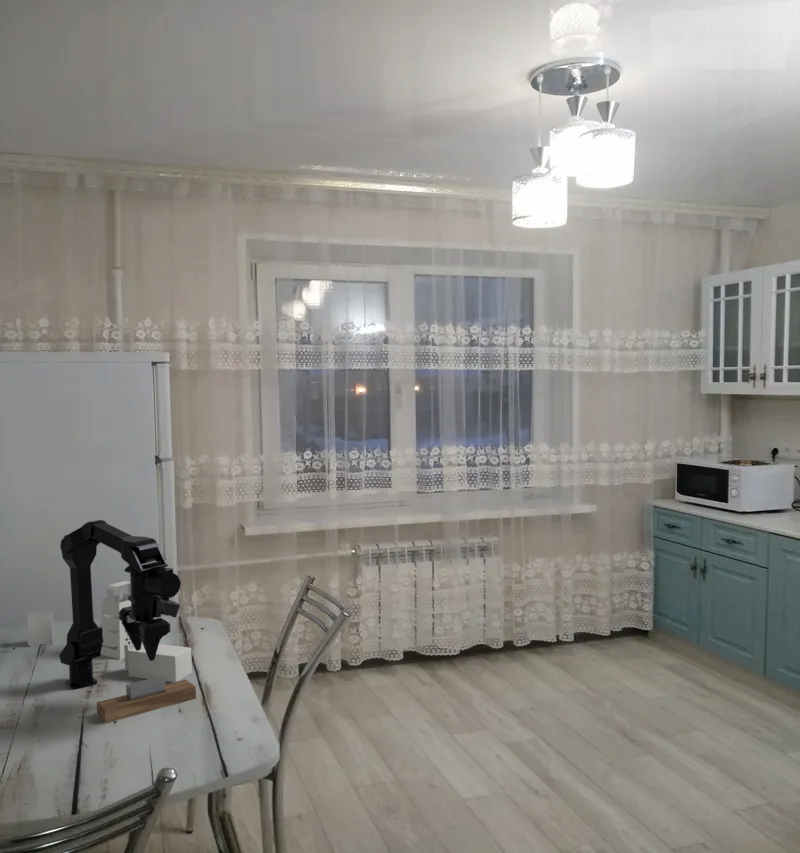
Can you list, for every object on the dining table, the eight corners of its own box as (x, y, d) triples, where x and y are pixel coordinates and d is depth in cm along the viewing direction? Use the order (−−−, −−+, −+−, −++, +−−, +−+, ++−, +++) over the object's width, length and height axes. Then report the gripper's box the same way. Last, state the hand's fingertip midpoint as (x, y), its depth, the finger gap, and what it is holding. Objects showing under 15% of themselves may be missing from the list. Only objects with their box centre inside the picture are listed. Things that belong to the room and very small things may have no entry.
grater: (149, 648, 230) (147, 581, 229) (120, 659, 221) (117, 590, 220) (126, 642, 236) (124, 577, 235) (96, 653, 227) (94, 585, 226)
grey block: (126, 709, 187) (126, 684, 187) (161, 700, 192) (160, 676, 192) (131, 713, 185) (130, 688, 184) (165, 703, 190) (164, 679, 189)
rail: (97, 714, 184) (96, 702, 184) (186, 691, 198) (185, 679, 198) (105, 723, 179) (104, 710, 179) (195, 698, 193) (195, 686, 193)
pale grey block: (52, 644, 236) (51, 611, 235) (28, 647, 233) (26, 614, 233) (53, 640, 239) (52, 608, 239) (29, 643, 237) (28, 610, 236)
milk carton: (175, 656, 203) (115, 649, 209) (176, 683, 203) (116, 675, 209) (191, 647, 209) (133, 640, 216) (192, 673, 210) (134, 666, 216)
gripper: (190, 593, 186) (192, 658, 186) (161, 578, 200) (162, 638, 201) (144, 602, 179) (146, 669, 180) (117, 586, 193) (119, 647, 194)
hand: (145, 655), depth 189 cm, fingers open, 9 cm apart
